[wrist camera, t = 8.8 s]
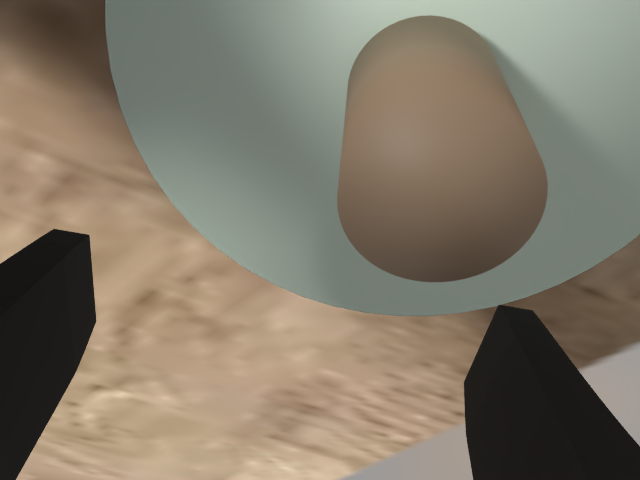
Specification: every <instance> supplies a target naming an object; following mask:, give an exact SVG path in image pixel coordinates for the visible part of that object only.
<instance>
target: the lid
mask: <svg viewBox="0 0 640 480" xmlns="http://www.w3.org/2000/svg"><path fill="white" fill-rule="evenodd" d="M105 28H106V39H107V46H108V53H109V61H110V68H111V74H112V78H113V81H114V85H115V89H116V93H117V96H118V100H119V104H120V108H121V111H122V113H123V116H124V118H125V121H126V123H127V126H128V128H129V131H130V133H131V136H132V138H133V141H134V143H135V145H136V147H137V149H138V151H139V152H140V154H141V156H142V158H143V160H144V161H145V163H146V165H147V167H148V169H149V171H150V172H151V174H152V176H153V177H154V179H155V180H156V181H157V183H158V184H159V186H160V187H161V188H162V190H163V191H164V193H165V194H166V195H167V197H168V198H169V200H170V201H171V202H172V204H173V205H174V206H175V207H176V208H177V209H178V210H179V212H180V213H181V214H182V215H183V216H184V217H185V218H186V219H187V220H188V221H189V223H190V224H191V225H192V226H193V227H194V228H195V229H196V230H197V231H198V232H199V233H201V234H202V235H203V236H204V237H205V238H206V239H207V240H208V241H210V242H211V243H212V244H213V245H214V246H215V247H216V248H218V249H219V250H220V251H221V252H223V253H224V254H226V255H227V256H228V257H230V258H231V259H233V260H234V261H236V262H237V263H238V264H240V265H241V266H243V267H244V268H245V269H247V270H249V271H251V272H252V273H254V274H256V275H258V276H260V277H262V278H263V279H265V280H267V281H269V282H271V283H272V284H274V285H277V286H279V287H281V288H284V289H286V290H288V291H291V292H293V293H295V294H298V295H300V296H302V297H305V298H309V299H312V300H315V301H318V302H321V303H325V304H328V305H331V306H335V307H340V308H345V309H350V310H355V311H360V312H365V313H374V314H384V315H394V316H433V315H444V314H455V313H463V312H469V311H474V310H479V309H485V308H490V307H495V306H498V305H502V304H505V303H509V302H512V301H516V300H519V299H523V298H526V297H529V296H531V295H534V294H536V293H539V292H541V291H544V290H546V289H549V288H552V287H554V286H557V285H559V284H561V283H563V282H565V281H567V280H569V279H571V278H573V277H575V276H577V275H579V274H581V273H583V272H585V271H587V270H589V269H591V268H592V267H594V266H595V265H597V264H598V263H600V262H602V261H603V260H605V259H606V258H608V257H609V256H611V255H613V254H614V253H616V252H617V251H619V250H620V249H622V248H623V247H624V246H626V245H627V244H628V243H630V242H631V241H632V240H633V239H635V238H636V237H637V236H638V235H640V0H105Z"/></svg>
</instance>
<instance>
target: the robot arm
mask: <svg viewBox="0 0 640 480" xmlns="http://www.w3.org/2000/svg"><path fill="white" fill-rule="evenodd" d="M95 323H96V312H95V300H94V287H93V275H92V262H91V250H90V238H89V235H86V234H80V233H75V232H69V231H63V230H57V229H53V230H52V231H50V232H48V233H47V234H45V235H43V236H42V237H40V238H39V239H37V240H36V241H34V242H33V243H31V244H30V245H28V246H27V247H25V248H24V249H22V250H20V251H19V252H17V253H16V254H14V255H13V256H11V257H10V258H8V259H7V260H5V261H4V262H2V263H1V264H0V480H16V478H17V476H18V475H19V473H20V471H21V469H22V467H23V466H24V464H25V462H26V460H27V459H28V457H29V455H30V453H31V452H32V450H33V448H34V446H35V444H36V443H37V441H38V439H39V437H40V436H41V434H42V432H43V430H44V428H45V427H46V425H47V423H48V421H49V420H50V418H51V416H52V414H53V413H54V411H55V409H56V407H57V405H58V403H59V402H60V400H61V398H62V396H63V394H64V393H65V391H66V389H67V387H68V385H69V384H70V382H71V380H72V378H73V376H74V374H75V373H76V370H77V368H78V366H79V363H80V361H81V358H82V356H83V354H84V351H85V349H86V346H87V344H88V341H89V338H90V336H91V333H92V331H93V328H94V325H95ZM464 396H465V422H466V437H467V444H468V449H469V455H470V461H471V468H472V474H473V480H640V446H639V445H638V444H637V443H636V442H635V440H634V439H633V438H632V437H631V436H630V435H629V434H628V432H627V431H626V430H625V429H624V428H623V427H622V425H621V424H620V423H619V422H618V420H617V419H616V418H615V417H614V416H613V414H612V413H611V412H610V411H609V409H608V408H607V407H606V406H605V404H604V403H603V402H602V401H601V399H600V398H599V397H598V396H597V394H596V393H595V392H594V390H593V389H592V388H591V387H590V385H589V384H588V383H587V381H586V380H585V379H584V377H583V376H582V375H581V374H580V372H579V371H578V370H577V368H576V367H575V366H574V364H573V363H572V362H571V360H570V359H569V358H568V356H567V355H566V354H565V352H564V351H563V350H562V348H561V347H560V346H559V344H558V343H557V342H556V340H555V339H554V338H553V336H552V335H551V334H550V332H549V331H548V330H547V328H546V327H545V326H544V324H543V323H542V322H541V320H540V319H539V318H538V317H537V315H536V314H535V313H534V312H533V311H532V310H526V309H520V308H514V307H508V306H503V305H498V308H497V310H496V312H495V314H494V316H493V319H492V321H491V323H490V325H489V328H488V330H487V332H486V334H485V337H484V339H483V341H482V343H481V345H480V348H479V350H478V352H477V354H476V357H475V359H474V361H473V363H472V366H471V368H470V370H469V372H468V374H467V377H466V379H465V381H464Z"/></svg>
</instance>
